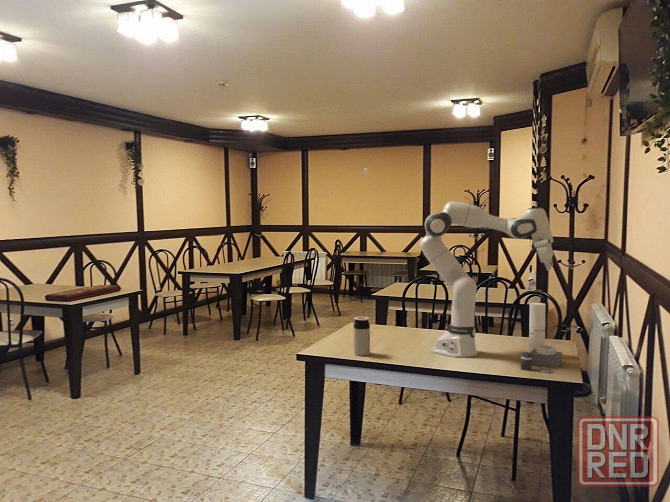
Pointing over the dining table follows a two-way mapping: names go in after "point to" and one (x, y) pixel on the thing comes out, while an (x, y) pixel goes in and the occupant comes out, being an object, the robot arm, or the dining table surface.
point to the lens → (526, 361)
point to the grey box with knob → (546, 356)
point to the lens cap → (545, 370)
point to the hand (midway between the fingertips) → (550, 268)
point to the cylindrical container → (536, 325)
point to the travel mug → (361, 336)
